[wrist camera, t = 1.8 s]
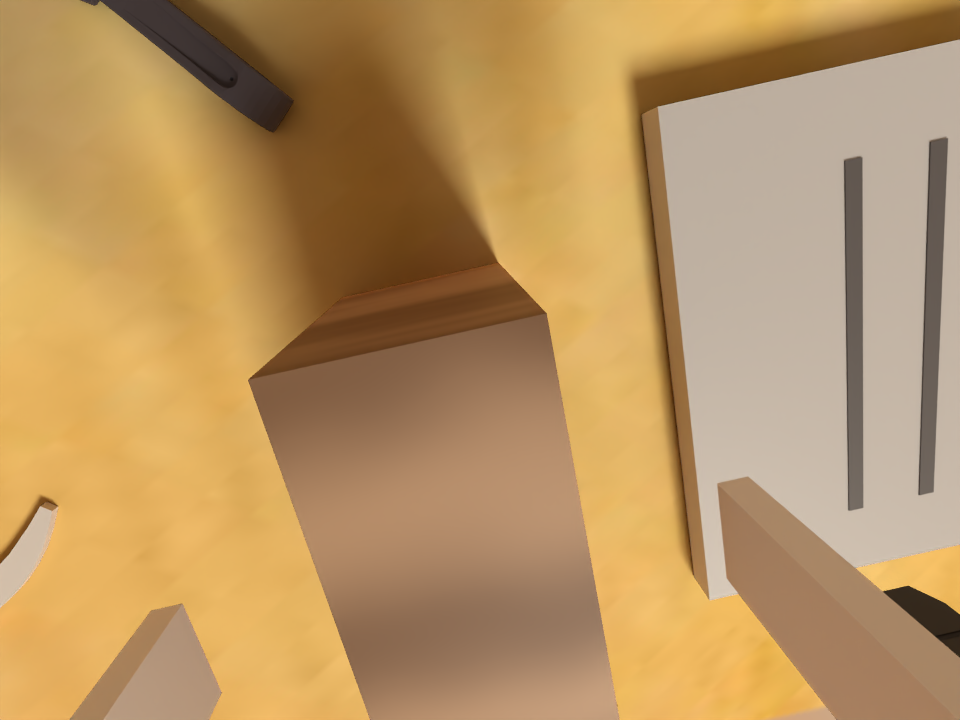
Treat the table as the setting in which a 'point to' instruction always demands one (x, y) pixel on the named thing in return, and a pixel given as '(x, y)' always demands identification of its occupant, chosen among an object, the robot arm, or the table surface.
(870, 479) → the board
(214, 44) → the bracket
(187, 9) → the table surface
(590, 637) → the block
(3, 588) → the pliers
